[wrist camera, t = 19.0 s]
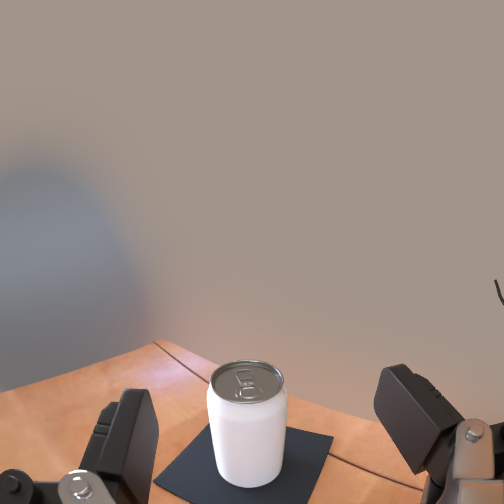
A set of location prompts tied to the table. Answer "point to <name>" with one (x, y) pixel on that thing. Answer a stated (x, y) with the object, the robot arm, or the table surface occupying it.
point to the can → (248, 421)
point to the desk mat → (240, 498)
